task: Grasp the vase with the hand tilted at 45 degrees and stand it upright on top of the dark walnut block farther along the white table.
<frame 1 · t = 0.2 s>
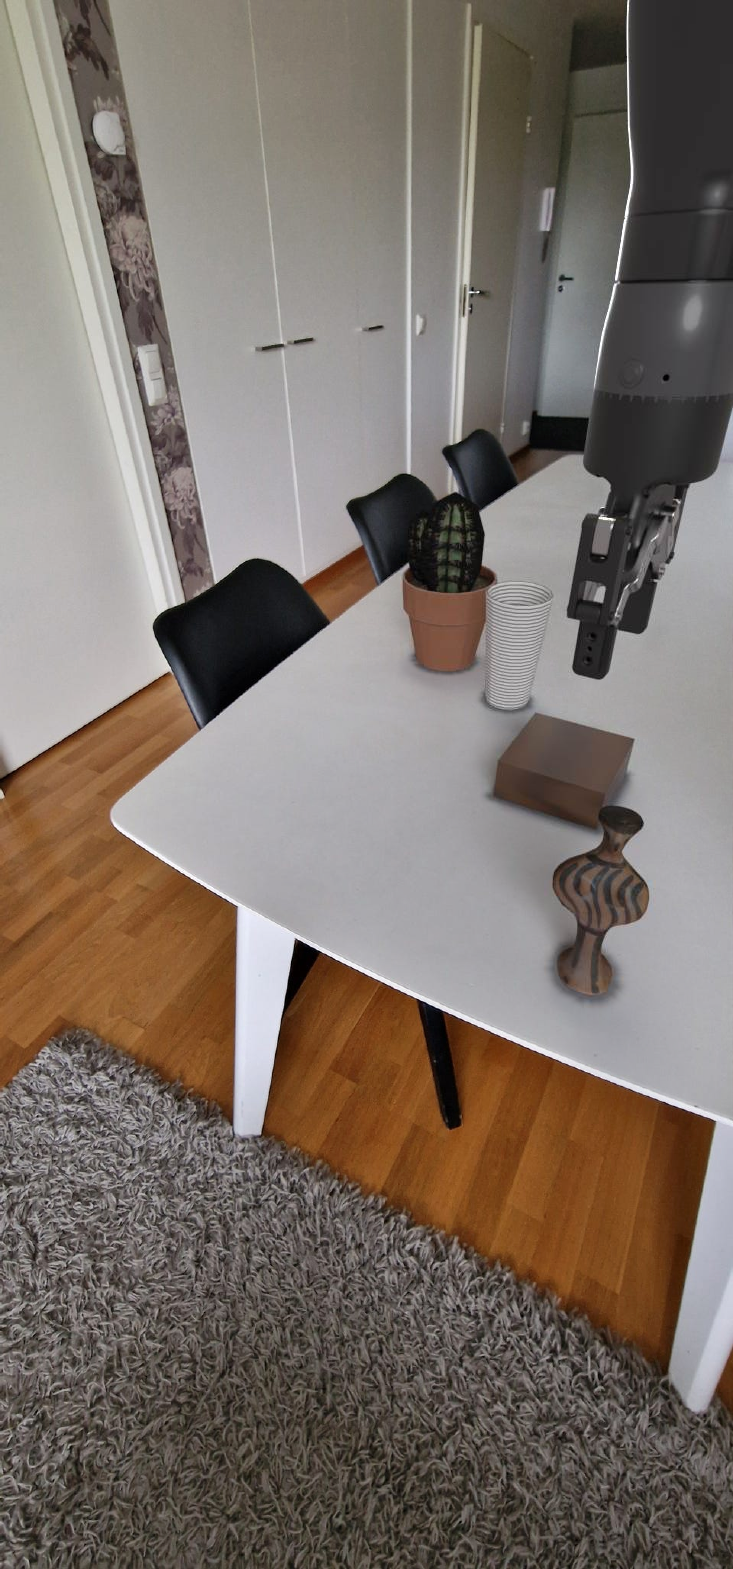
hand: (610, 651, 48), 28 cm above the table, tool pointing down, fingers open, 8 cm apart
cup: (506, 700, 99), on the table
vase: (578, 970, 61), on the table
potted plant: (444, 659, 109), on the table
walnut block: (560, 784, 82), on the table
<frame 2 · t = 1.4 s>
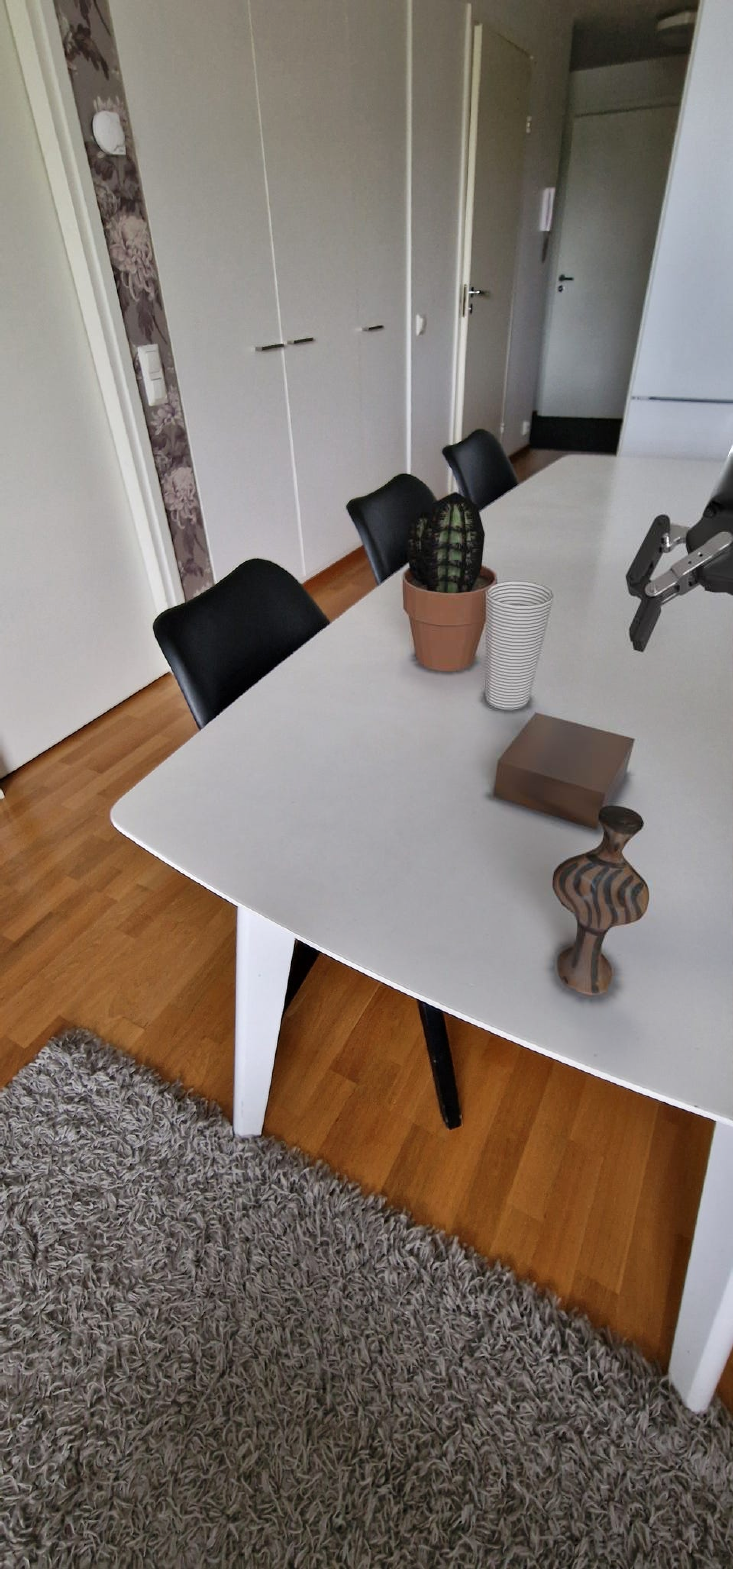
hand: (693, 663, 53), 25 cm above the table, tool tilted 45°, fingers open, 8 cm apart
nothing on the table moved.
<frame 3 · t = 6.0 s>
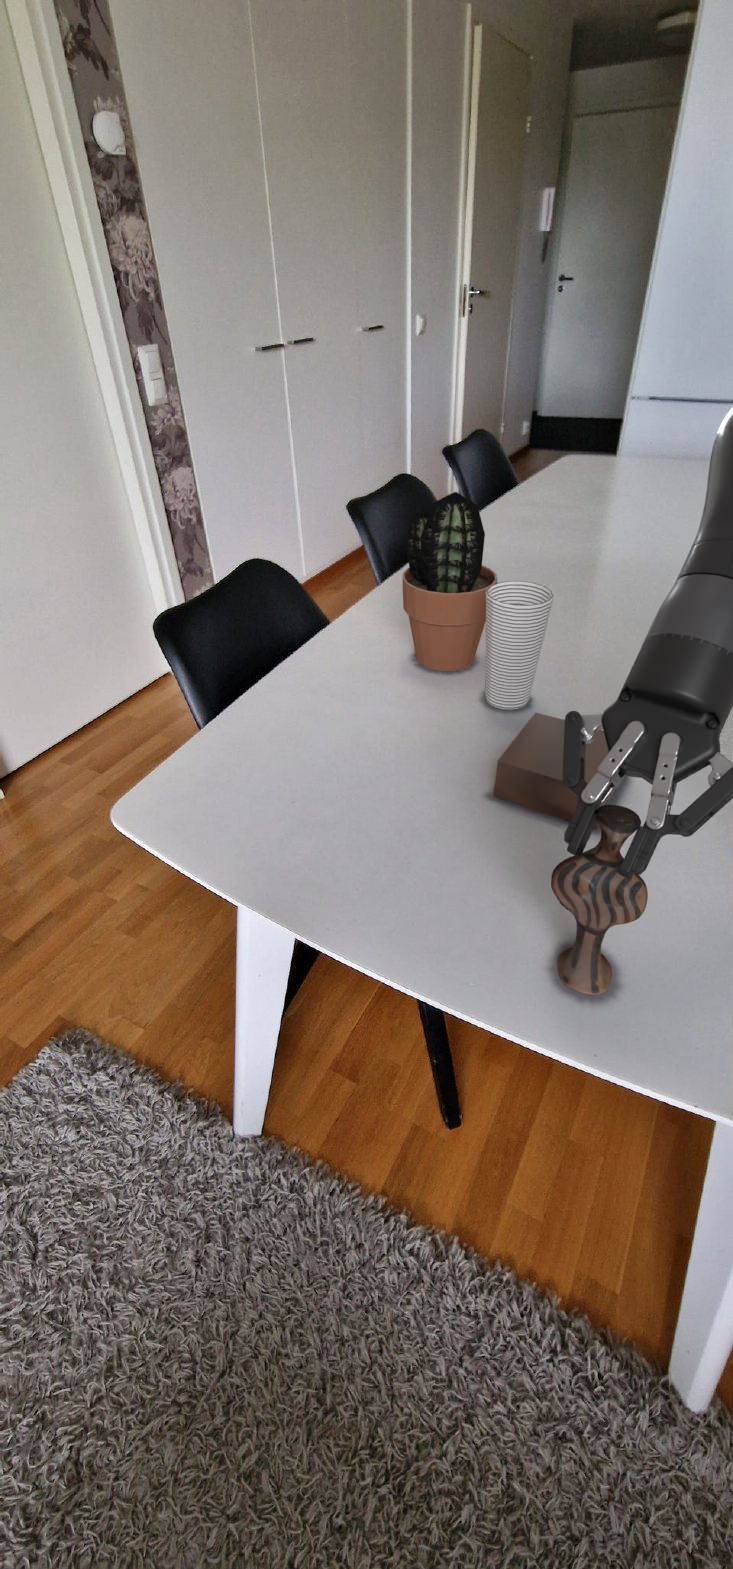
hand: (599, 864, 52), 14 cm above the table, tool tilted 45°, fingers closed on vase, 3 cm apart
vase: (578, 969, 61), on the table, touching gripper
everything else where it was.
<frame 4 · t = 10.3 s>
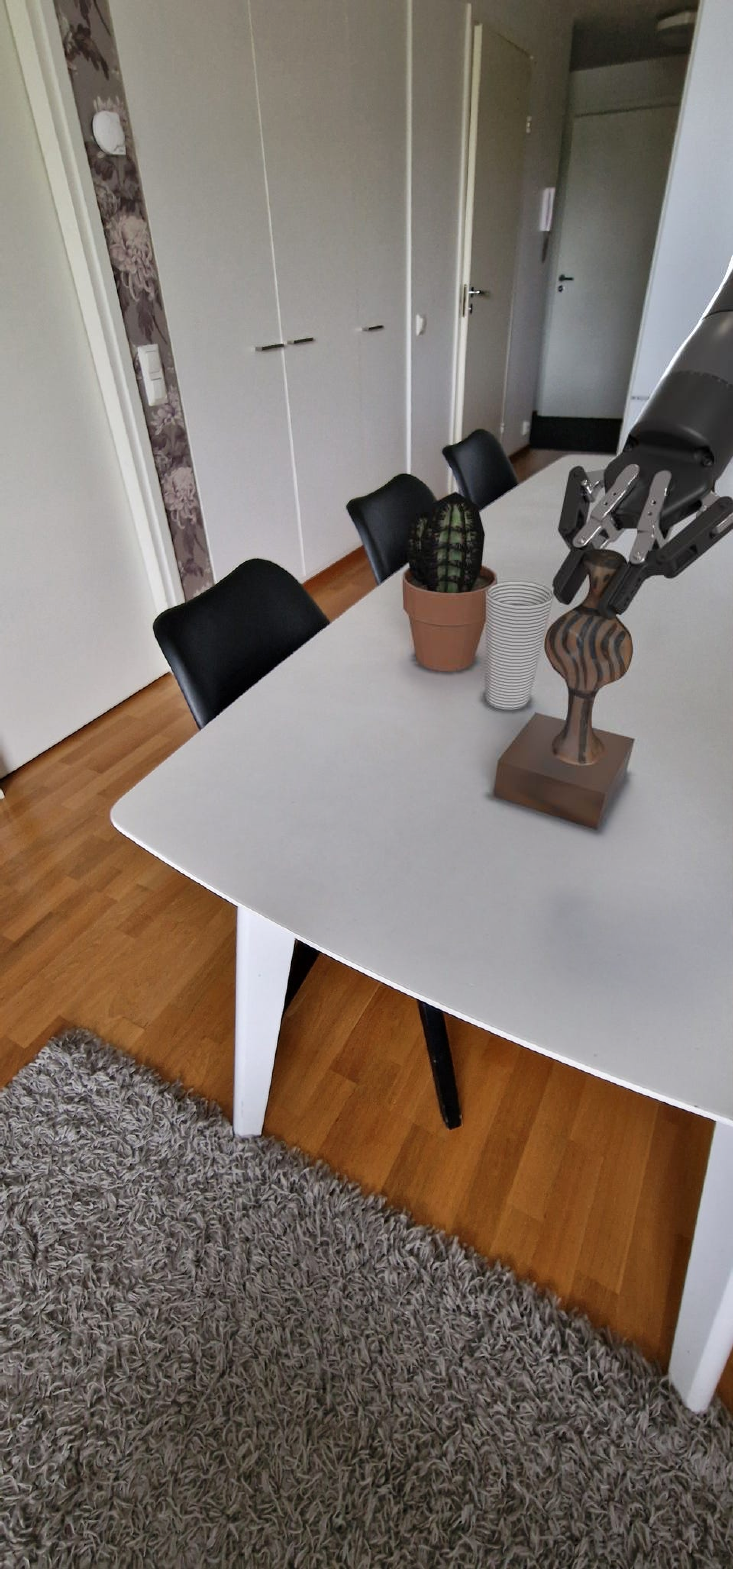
hand: (582, 606, 53), 28 cm above the table, tool tilted 45°, fingers closed on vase, 3 cm apart
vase: (571, 749, 63), point 14 cm above the table, touching gripper
everything else where it was.
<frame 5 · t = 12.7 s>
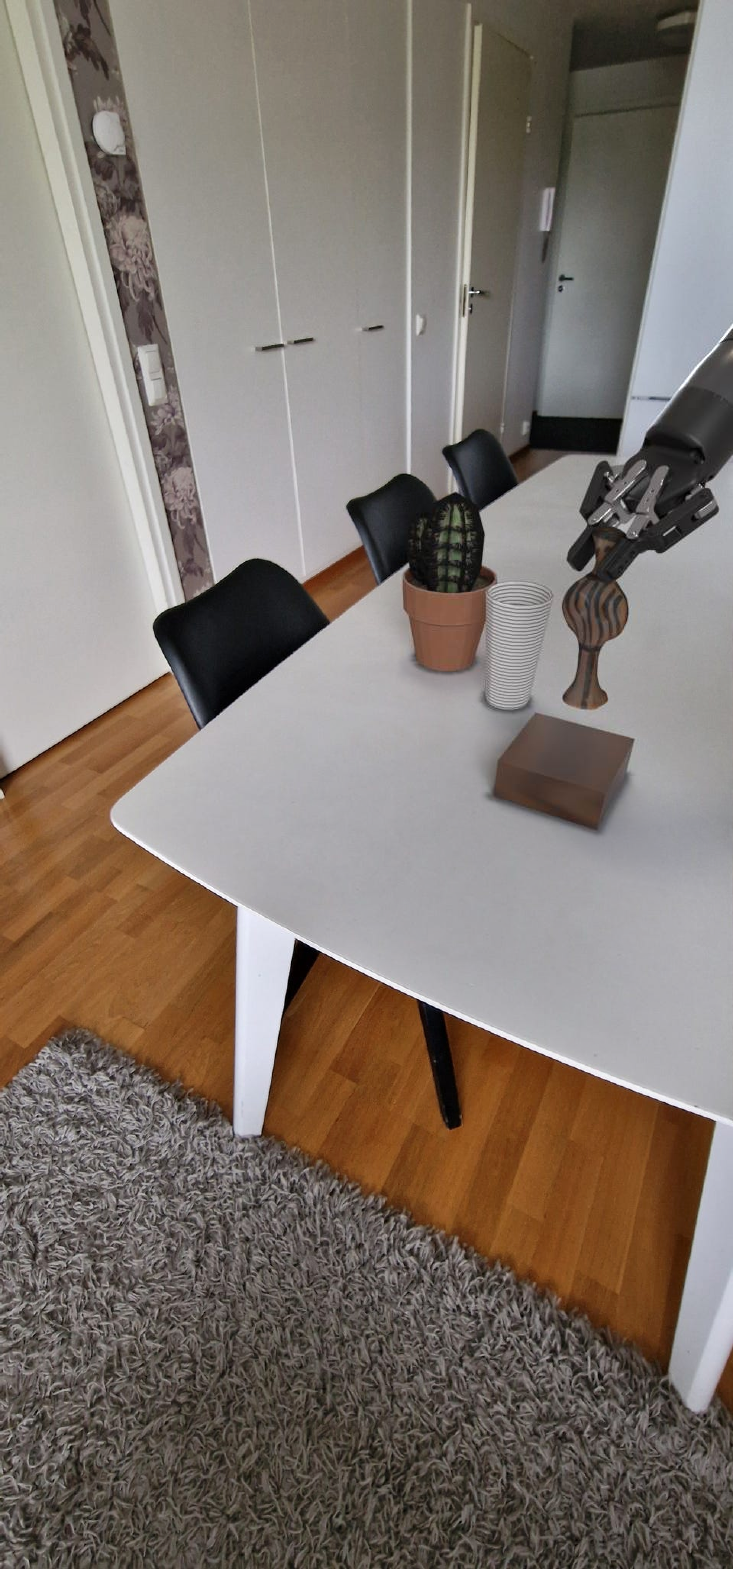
hand: (587, 571, 66), 26 cm above the table, tool tilted 45°, fingers closed on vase, 3 cm apart
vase: (580, 698, 75), point 12 cm above the table, touching gripper
everything else where it was.
when the fingers open (19 cm above the table, at t = 15.0 s): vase stays where it is, resting on walnut block.
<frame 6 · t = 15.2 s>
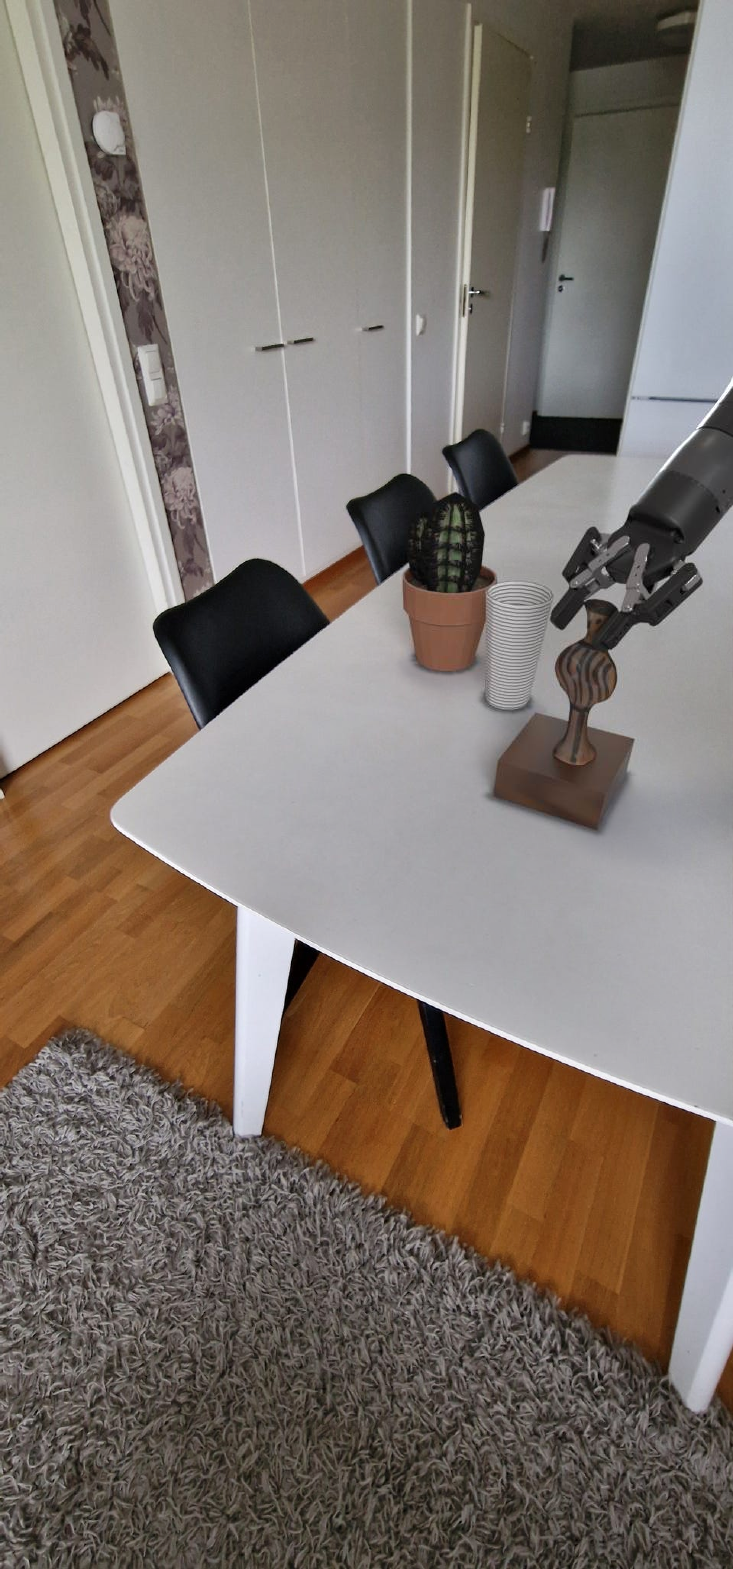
hand: (576, 636, 70), 19 cm above the table, tool tilted 45°, fingers open, 5 cm apart
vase: (570, 751, 79), point 5 cm above the table, touching walnut block
everything else where it was.
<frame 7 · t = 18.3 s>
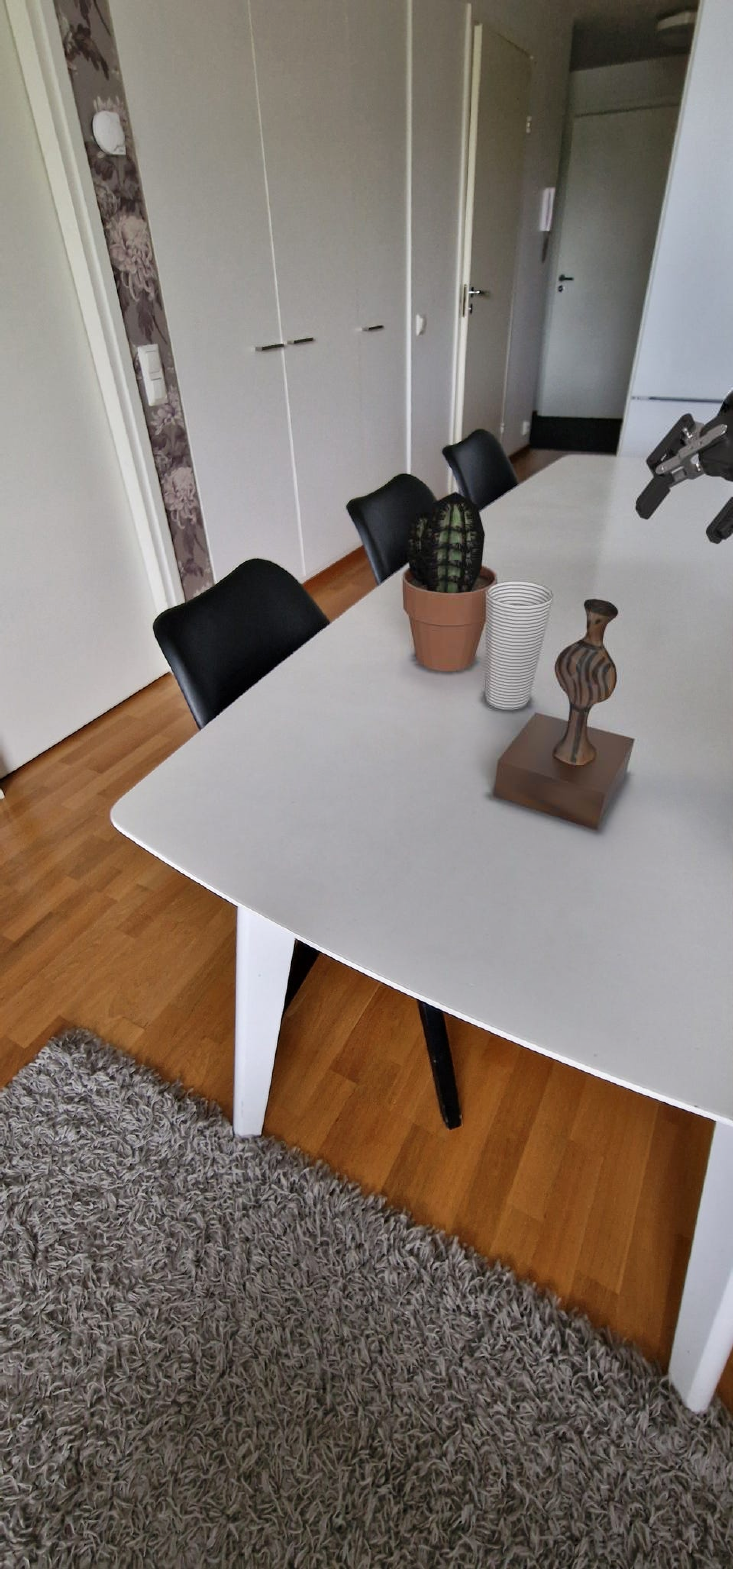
hand: (674, 526, 68), 28 cm above the table, tool tilted 45°, fingers open, 8 cm apart
nothing on the table moved.
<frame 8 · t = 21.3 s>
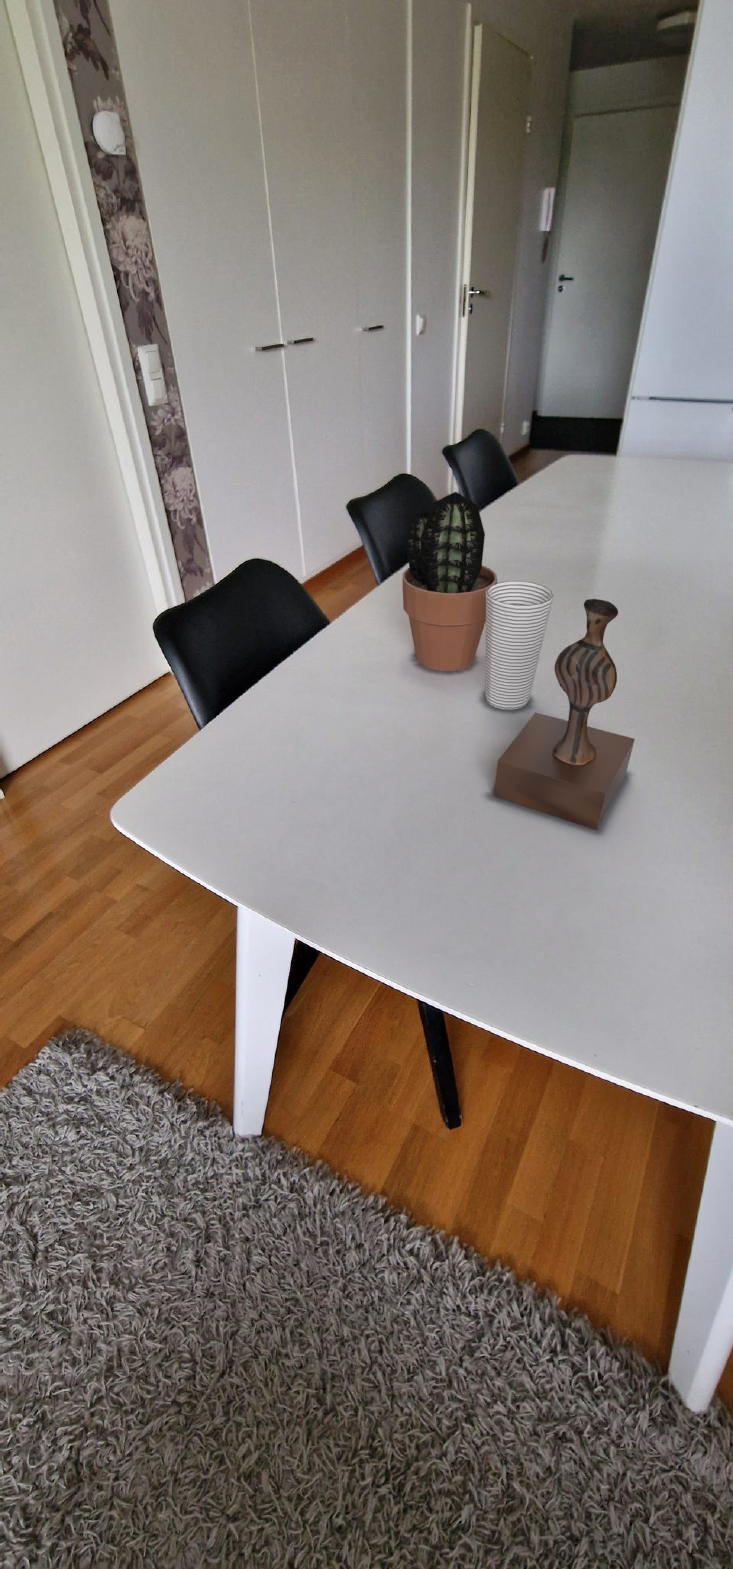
nothing on the table moved.
at the end: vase inside the target area on the walnut block (0.4 cm from its centre), point 4.8 cm above the walnut block's base; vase tilted 0°; the gripper is holding nothing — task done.
